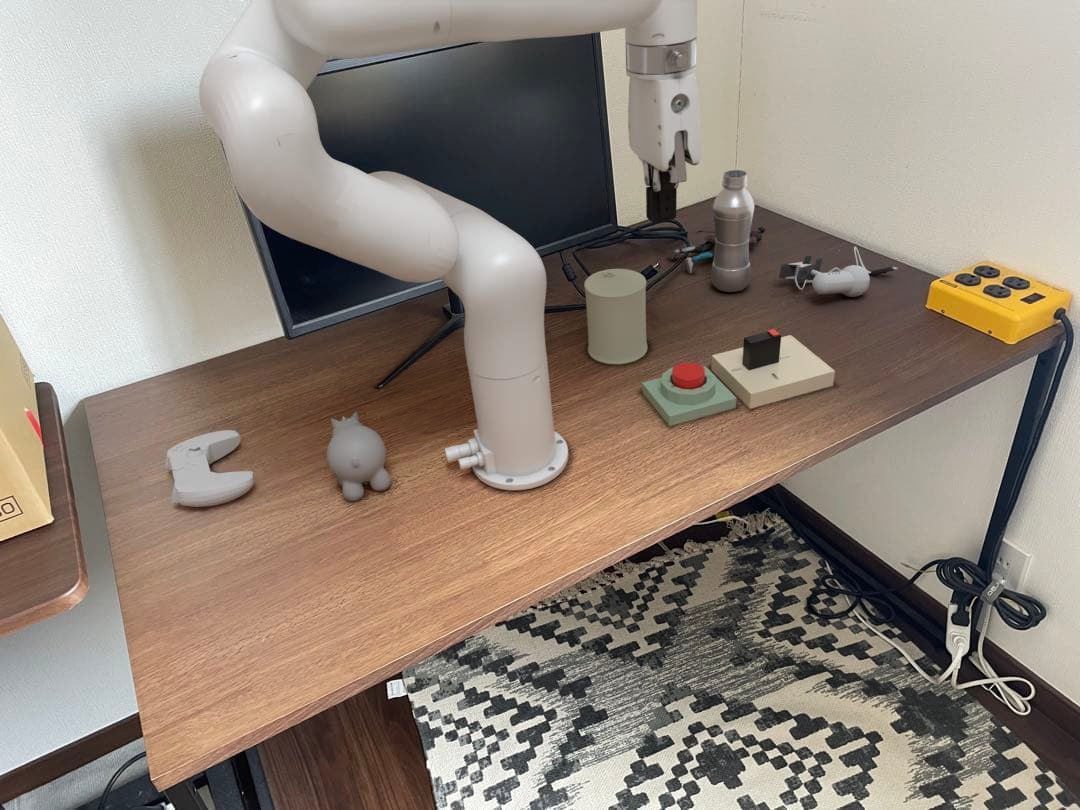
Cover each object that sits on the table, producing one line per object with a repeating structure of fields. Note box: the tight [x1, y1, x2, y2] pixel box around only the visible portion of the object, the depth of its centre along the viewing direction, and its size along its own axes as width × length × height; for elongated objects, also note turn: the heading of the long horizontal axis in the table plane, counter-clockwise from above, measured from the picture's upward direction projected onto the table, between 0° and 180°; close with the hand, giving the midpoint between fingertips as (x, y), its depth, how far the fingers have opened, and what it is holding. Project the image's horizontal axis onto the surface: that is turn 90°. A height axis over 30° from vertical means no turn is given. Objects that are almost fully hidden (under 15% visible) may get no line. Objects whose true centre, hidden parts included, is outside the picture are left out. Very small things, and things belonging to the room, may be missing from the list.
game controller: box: [164, 429, 255, 508], centre depth 106 cm, size 14×4×10 cm
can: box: [583, 268, 648, 365], centre depth 122 cm, size 9×9×12 cm
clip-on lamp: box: [778, 246, 899, 298], centre depth 134 cm, size 12×6×18 cm
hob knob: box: [742, 328, 782, 370], centre depth 113 cm, size 5×2×5 cm, turn 109°
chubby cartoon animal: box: [326, 411, 392, 502], centre depth 103 cm, size 7×12×8 cm, turn 21°
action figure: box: [669, 225, 766, 275], centre depth 147 cm, size 8×6×18 cm
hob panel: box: [710, 334, 836, 410], centre depth 114 cm, size 13×11×3 cm
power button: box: [672, 361, 705, 389], centre depth 110 cm, size 4×4×2 cm
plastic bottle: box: [710, 169, 755, 293], centre depth 133 cm, size 6×7×20 cm
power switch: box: [641, 365, 738, 427], centre depth 112 cm, size 10×9×4 cm
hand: (661, 218), depth 97 cm, fingers closed
